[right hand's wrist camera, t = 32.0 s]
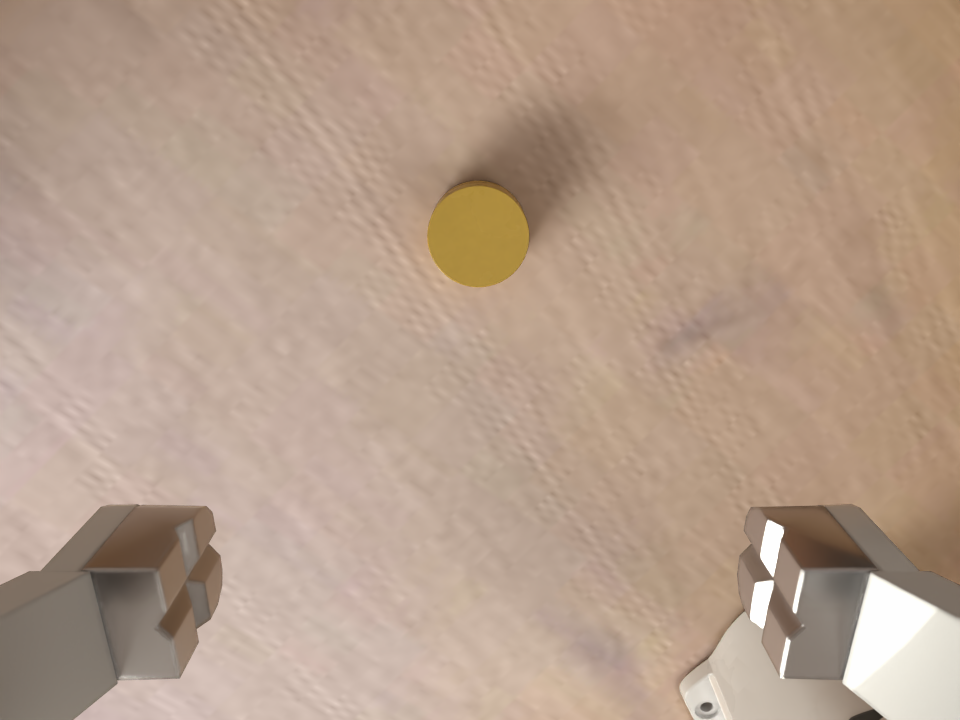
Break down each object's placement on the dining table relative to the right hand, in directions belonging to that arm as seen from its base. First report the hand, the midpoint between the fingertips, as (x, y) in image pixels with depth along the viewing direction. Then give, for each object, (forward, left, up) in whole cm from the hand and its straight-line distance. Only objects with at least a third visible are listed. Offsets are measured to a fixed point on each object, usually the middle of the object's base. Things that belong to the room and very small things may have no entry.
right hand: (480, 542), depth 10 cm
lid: (0, 0, -25) cm, 25 cm away
